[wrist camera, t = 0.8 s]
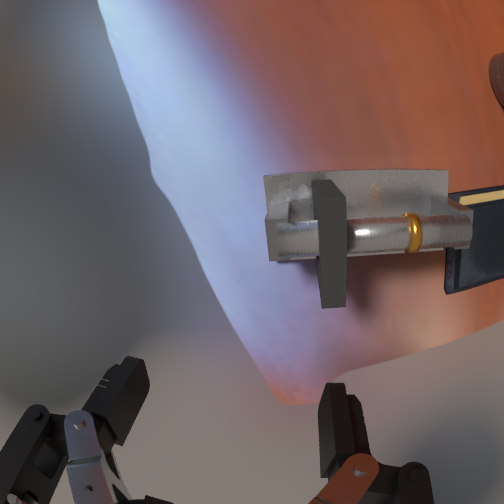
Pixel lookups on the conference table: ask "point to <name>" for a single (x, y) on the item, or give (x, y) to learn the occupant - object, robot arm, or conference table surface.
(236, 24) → the conference table surface
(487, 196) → the wallet
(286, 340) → the conference table surface
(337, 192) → the dark grey wedge plate
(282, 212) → the pipe stand
